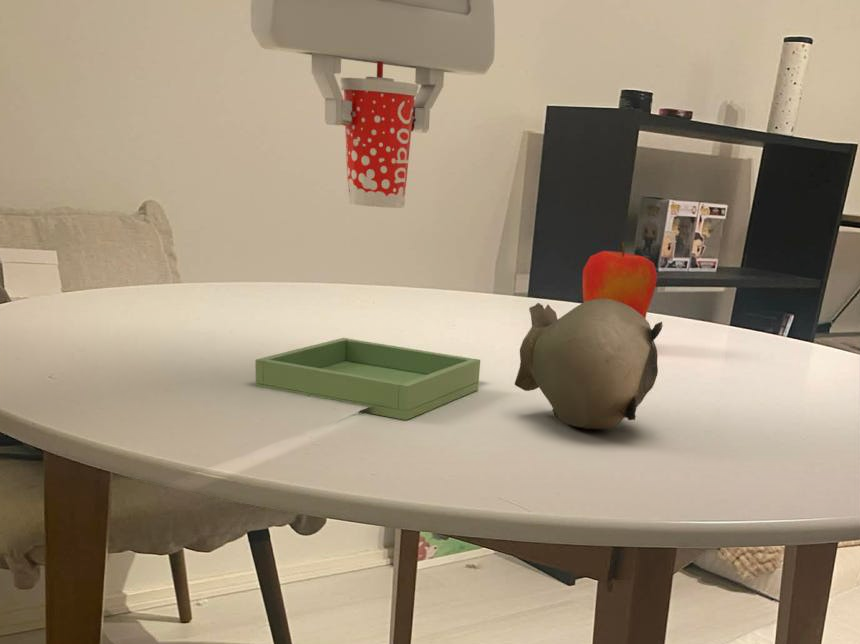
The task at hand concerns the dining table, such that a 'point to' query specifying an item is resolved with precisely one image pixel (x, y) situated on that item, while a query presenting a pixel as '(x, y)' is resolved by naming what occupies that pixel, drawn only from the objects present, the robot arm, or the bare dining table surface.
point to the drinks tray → (371, 376)
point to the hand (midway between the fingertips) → (377, 128)
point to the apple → (620, 279)
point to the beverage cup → (378, 139)
